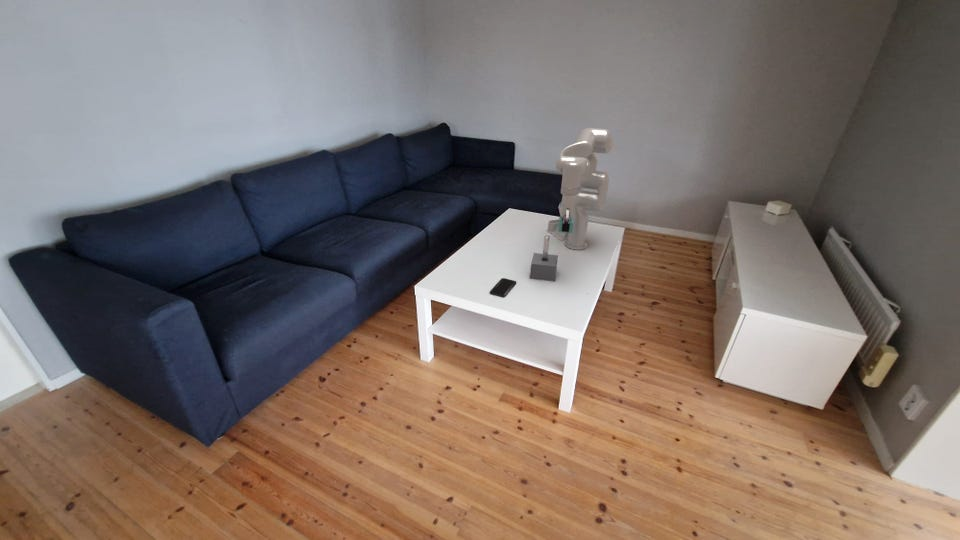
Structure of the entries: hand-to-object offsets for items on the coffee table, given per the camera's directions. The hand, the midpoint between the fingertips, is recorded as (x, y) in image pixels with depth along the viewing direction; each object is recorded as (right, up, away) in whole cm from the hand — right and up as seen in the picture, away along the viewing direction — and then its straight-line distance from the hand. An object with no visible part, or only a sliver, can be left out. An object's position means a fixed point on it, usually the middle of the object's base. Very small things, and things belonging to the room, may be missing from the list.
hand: (565, 228), depth 178 cm
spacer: (0, -1, 0) cm, 1 cm away
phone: (-28, -28, +3) cm, 40 cm away
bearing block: (-7, -21, +15) cm, 27 cm away
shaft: (-7, -16, +12) cm, 21 cm away
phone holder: (+10, +2, +58) cm, 59 cm away
